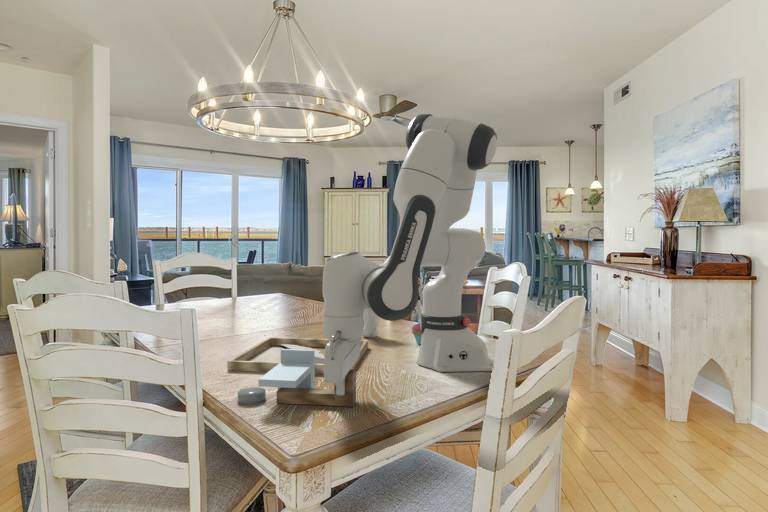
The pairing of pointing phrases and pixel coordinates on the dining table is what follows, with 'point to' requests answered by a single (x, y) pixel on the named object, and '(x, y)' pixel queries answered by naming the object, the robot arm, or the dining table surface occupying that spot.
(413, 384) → the dining table surface
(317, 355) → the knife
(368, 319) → the shell sculpture
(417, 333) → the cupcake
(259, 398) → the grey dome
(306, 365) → the shelf
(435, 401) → the dining table surface
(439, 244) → the robot arm
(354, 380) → the brown l-shaped block
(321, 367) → the wooden frame
